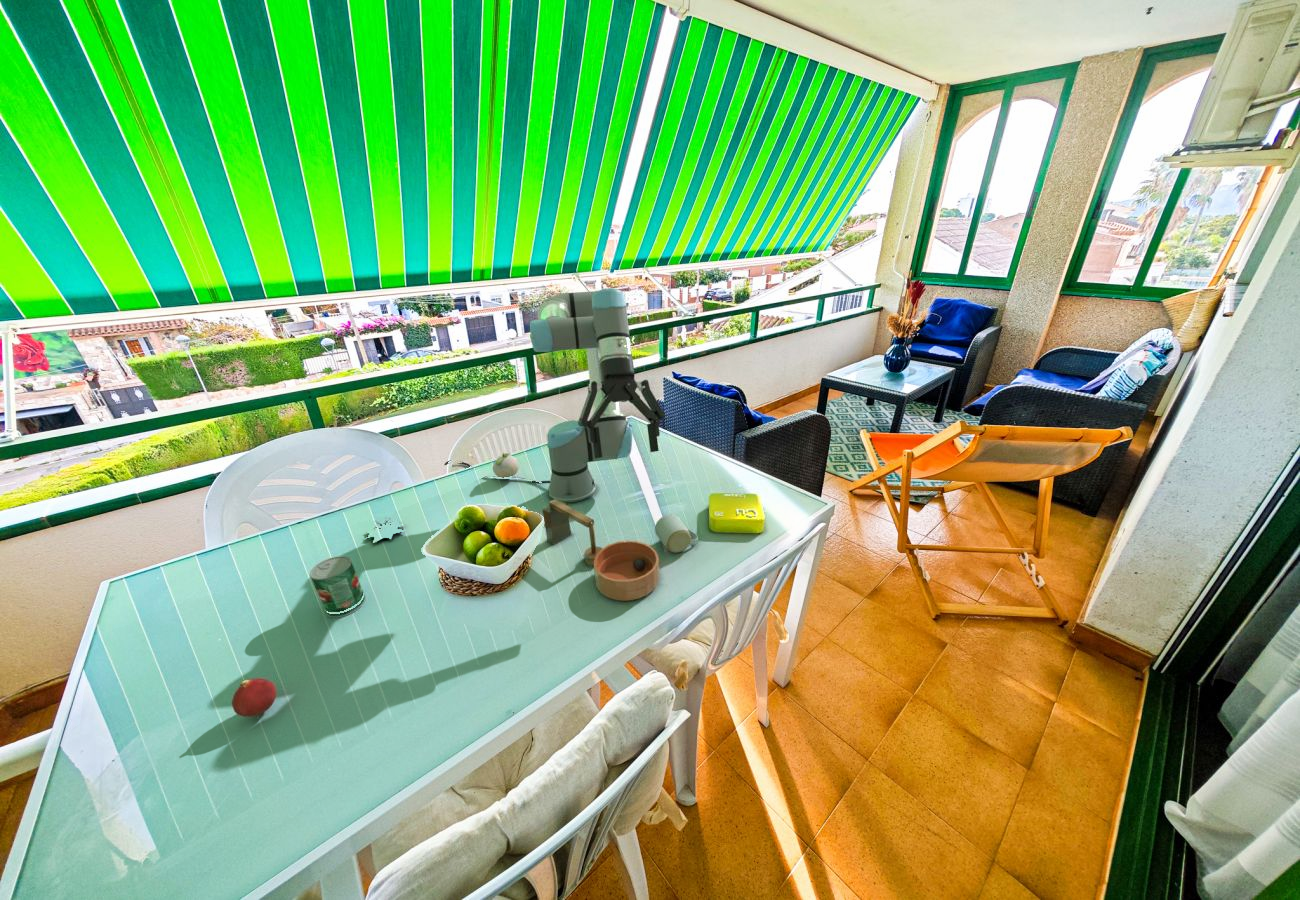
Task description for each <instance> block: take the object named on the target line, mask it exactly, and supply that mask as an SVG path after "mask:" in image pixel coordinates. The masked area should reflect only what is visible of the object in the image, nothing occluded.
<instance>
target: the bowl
mask: <svg viewBox="0 0 1300 900" xmlns="http://www.w3.org/2000/svg"><path fill="white" fill-rule="evenodd" d="M637 558H641V559H643V560H644V561H645V568H644V569H643V570H641V571H637V570H636V569H635V568H634V567H633V563H634V561H635V560H636V559H637ZM593 569H594V571H593V572H594V579H595V586H596V588H597V590H598V591H599V592H600V594H602V595H603V596H605V597H606V598H609V599H612V600H616V601H626V602H629V601H634V600H639V599H641V598H643V597H646V596H648V595H649V594H650V593H652V592H653V591H654V590H656V587H657V586H658V584H659V582H660V558H659V555H658V551H656V549H654V548H653V546H652V545H649V544H647V543H645V542H642V541H637V540H622V541H615V542H613V543H609V544H608V545H606V546H605V547H603V548H602V549H601V550H600V551H599V552H598V554H597V555H596V556H595V559H594V566H593Z"/></svg>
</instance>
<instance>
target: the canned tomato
mask: <svg viewBox="0 0 1300 900" xmlns="http://www.w3.org/2000/svg"><path fill="white" fill-rule="evenodd" d="M309 577H310V579H311V582H312V583H313V586H314V588H315V591H316V592H317V595H318V598H319V599H320V602H321V604H322V606H323V609H324V611H325V610H326V611H328V612H340V611H344V610H346V609H348V608H351V607H352V606H354V605H355V604H357V603H358V602H359V601H360V600H361V598H362V596H363V593H364V590H363V587H362V585H361V582H360V580H359V577H358V575H357V571H356V570H355V567H354V565H353V562H352V559H351V558H350V557H349V556H347V555H339V556H338V555H337V556H333V557H330V558H327V559H324V560H323V561H320V562H318V563H317V564H316V565H315V566H313V568H311V570H310V572H309ZM365 602H366V595H365V594H364V598H363V600H362V601H361V603H360V604H359V605H357V606H356V607H355V608H353V609H351V610H349V611H347V612H344V613H340V614H329V613H327V612H326V611H325V614H326V616H327V617H329V618H334V619H335V618H342V617H343V618H344V617H347V616H349V615H351V614H353V613H355V612H356V611H358V610H359V609H360V608H361V607H362V606H363V605H364V604H365Z"/></svg>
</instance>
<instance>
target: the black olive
mask: <svg viewBox="0 0 1300 900" xmlns="http://www.w3.org/2000/svg"><path fill="white" fill-rule="evenodd" d="M633 567H634V568H635V569H636V570H637V571H641V570H643V569H644V568H645V561H644V560H643V559H641V558H637V559H636V560H635V561H634V563H633Z"/></svg>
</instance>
